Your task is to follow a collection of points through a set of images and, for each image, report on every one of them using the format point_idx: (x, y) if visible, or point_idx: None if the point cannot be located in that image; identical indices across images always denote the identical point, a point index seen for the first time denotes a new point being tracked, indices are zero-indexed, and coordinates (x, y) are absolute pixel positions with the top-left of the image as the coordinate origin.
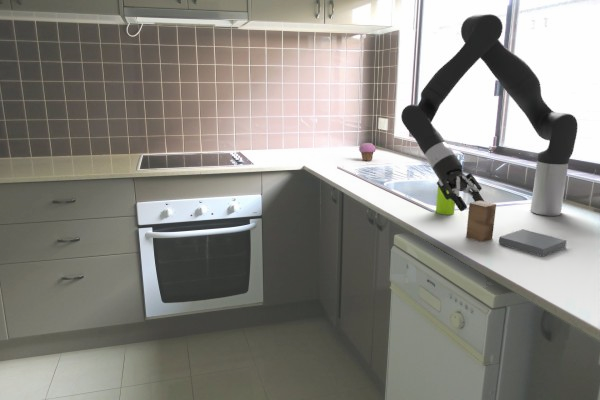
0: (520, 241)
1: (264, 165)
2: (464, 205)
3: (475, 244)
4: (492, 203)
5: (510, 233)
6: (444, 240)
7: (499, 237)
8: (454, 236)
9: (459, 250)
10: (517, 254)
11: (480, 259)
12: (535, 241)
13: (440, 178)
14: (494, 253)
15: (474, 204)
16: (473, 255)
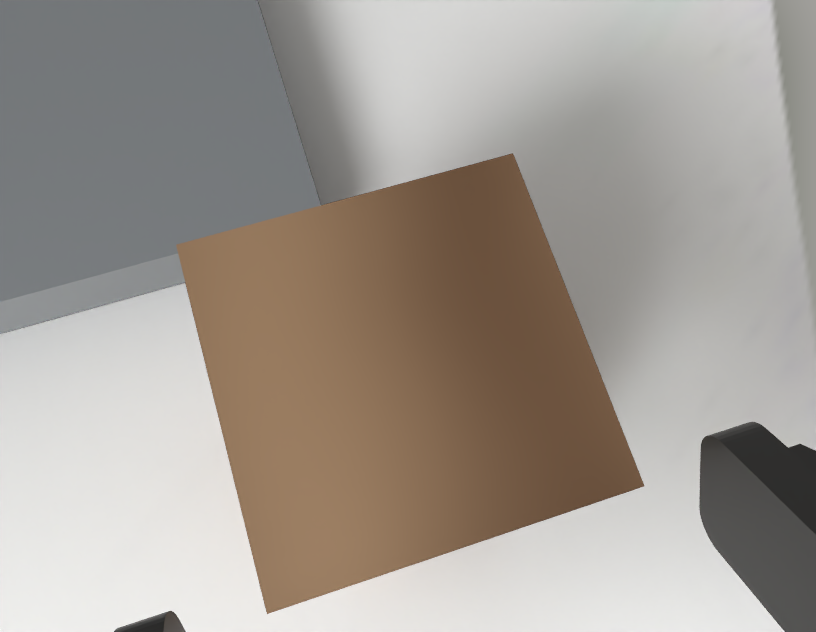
0: (240, 50)
1: None
2: (779, 443)
3: None
4: (201, 311)
5: (125, 262)
6: None
7: None
8: (615, 570)
9: (785, 210)
10: (374, 7)
11: (726, 13)
12: (104, 12)
13: None
14: (537, 74)
15: (598, 372)
16: (732, 89)
